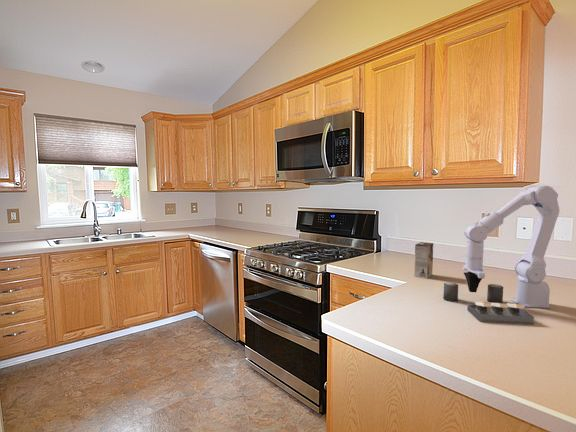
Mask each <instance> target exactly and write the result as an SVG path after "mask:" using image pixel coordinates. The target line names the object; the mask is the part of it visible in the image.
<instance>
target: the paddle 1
mask: <svg viewBox="0 0 576 432" xmlns="http://www.w3.org/2000/svg"><path fill="white" fill-rule="evenodd" d="M475 304H476V305H479V306H483V307H491V303H490V302H483V301H476V302H475Z"/></svg>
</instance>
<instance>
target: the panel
mask: <svg viewBox="0 0 576 432" xmlns="http://www.w3.org/2000/svg"><path fill="white" fill-rule="evenodd" d="M523 309H524V308H513V307H508V308H504V307H496V306H491V307H483V306H479V305H476V303H470V302H468V303H467V309H466V310H467V311H468V313H469V314H471V315H472V317H474V318H475V319H476V320H477V321H478V322H481V323H497V324H498V323H499V324H500V323H501V324H502V323H503V324H519V325H520V324H522V325H534V322H535V317H534V316H533V314H531V313H528V312H527V311H525V310H523Z"/></svg>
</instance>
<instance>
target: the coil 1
mask: <svg viewBox="0 0 576 432" xmlns="http://www.w3.org/2000/svg"><path fill="white" fill-rule="evenodd" d="M442 296H443V297H442V298H443V301H447V302H451V303H455V302H458V301H459V284H458V283H456V282H451V281H446V282H443V295H442Z"/></svg>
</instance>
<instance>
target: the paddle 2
mask: <svg viewBox="0 0 576 432" xmlns="http://www.w3.org/2000/svg"><path fill="white" fill-rule="evenodd" d="M506 304H508V307H513V308H521V309H525V308H526V307H524V305H522V304H517V303H509V302H507V303H506Z"/></svg>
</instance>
